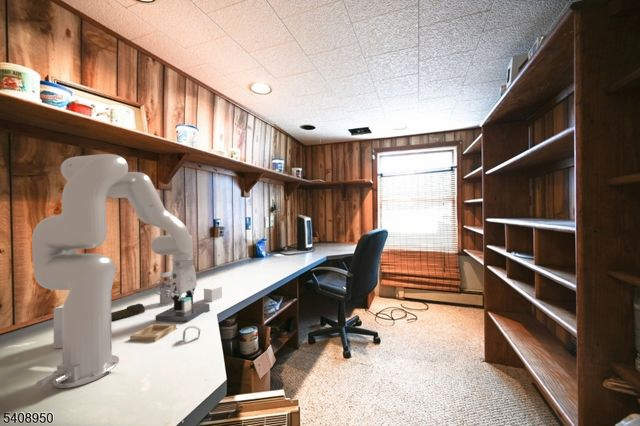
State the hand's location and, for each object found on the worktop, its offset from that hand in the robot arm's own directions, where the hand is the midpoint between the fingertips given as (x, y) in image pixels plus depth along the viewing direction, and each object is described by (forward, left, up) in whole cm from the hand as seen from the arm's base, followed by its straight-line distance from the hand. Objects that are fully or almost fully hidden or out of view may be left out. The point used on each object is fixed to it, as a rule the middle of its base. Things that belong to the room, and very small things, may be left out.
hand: (183, 306), depth 101 cm
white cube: (+22, +1, -4) cm, 22 cm away
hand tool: (-5, +28, -5) cm, 28 cm away
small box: (-23, +23, -4) cm, 33 cm away
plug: (0, 0, -4) cm, 4 cm away
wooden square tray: (-17, -2, -4) cm, 18 cm away
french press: (+15, +21, -4) cm, 26 cm away
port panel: (0, 0, -4) cm, 4 cm away
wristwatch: (-19, -18, -4) cm, 27 cm away
